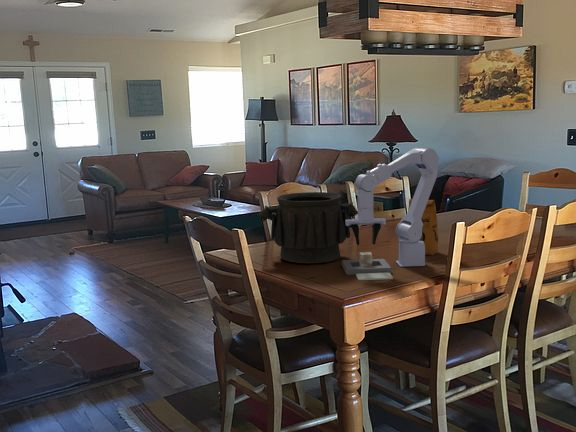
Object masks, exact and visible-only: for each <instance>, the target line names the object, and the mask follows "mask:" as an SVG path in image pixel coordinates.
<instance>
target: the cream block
mask: <svg viewBox="0 0 576 432" xmlns="http://www.w3.org/2000/svg"><path fill="white" fill-rule="evenodd" d="M372 259H373V254H372V252H371V251H365V252H364V251H363V252H360V251H359V260H360V266H372Z"/></svg>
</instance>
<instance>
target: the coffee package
mask: <svg viewBox="0 0 576 432" xmlns="http://www.w3.org/2000/svg"><path fill="white" fill-rule="evenodd" d="M412 200H413V198H409V199H408V208H407V211H408V210H409V208H410V205H411V202H412ZM436 206H437V205H436V201H435V199H428V202H427V204H426V207H425V210H424V212H423V215H422V218H421V220H422V223H423V227H422V236H421V238H420V239H419V241H423V242H424V244H425V255H429V256H434V255H436V254H438V253H439V230H438V229H439V228H438V227H439V226H438V216H437V207H436Z"/></svg>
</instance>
